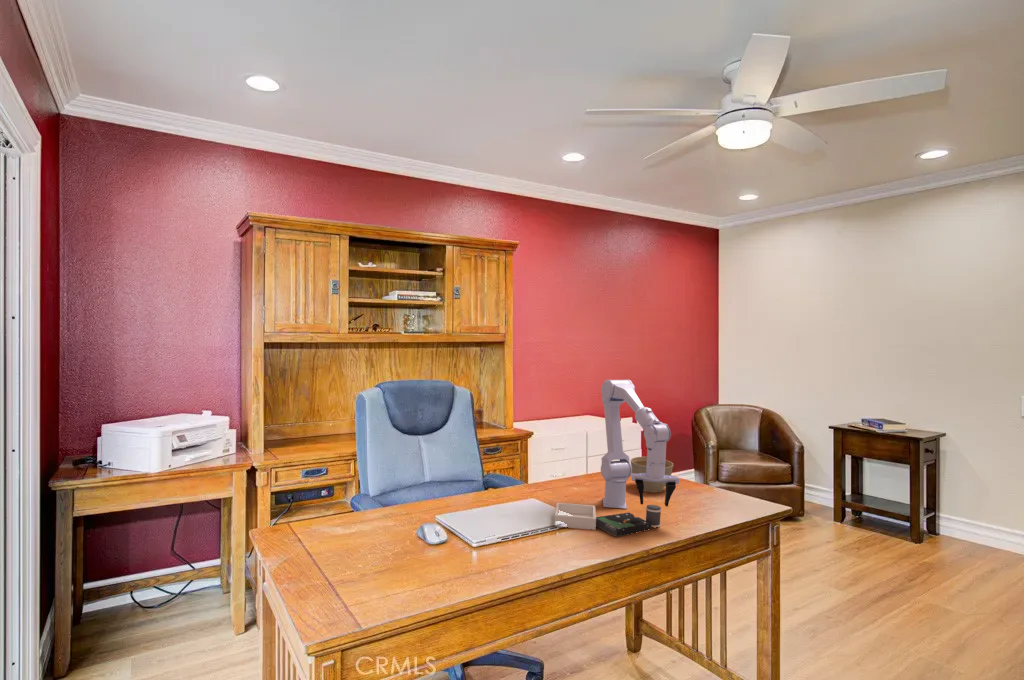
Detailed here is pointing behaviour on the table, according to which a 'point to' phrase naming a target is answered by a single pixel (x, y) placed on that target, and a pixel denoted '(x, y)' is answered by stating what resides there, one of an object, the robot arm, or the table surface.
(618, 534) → the disk drive
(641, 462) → the planter bowl
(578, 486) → the table surface
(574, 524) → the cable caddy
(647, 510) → the dark grey spool
